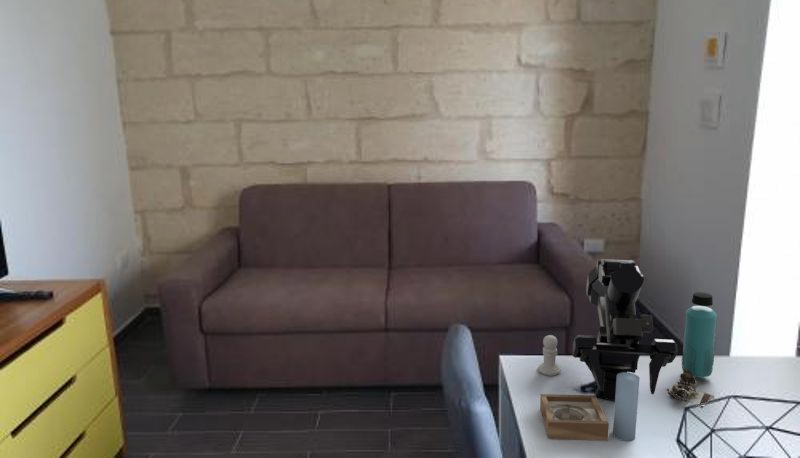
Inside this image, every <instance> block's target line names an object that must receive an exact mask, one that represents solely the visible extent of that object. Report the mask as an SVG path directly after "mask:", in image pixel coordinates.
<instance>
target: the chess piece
mask: <svg viewBox="0 0 800 458" xmlns="http://www.w3.org/2000/svg"><path fill="white" fill-rule="evenodd" d="M542 340H543V341H542V344H543V347H542V354H543V362H542V363H541V364H539V365H538V366H537V371H538V372H539V373H540V374H542V375H544V376H549V377H550V376H557V375H559V374H561V372H562V369H561V367H560V365H557V363H556V357H557V355H558V348H557V347H558V339H557V337H556V336H554V335H553V334H550V335H549V334H548V335H546V336H544V337H543V339H542Z"/></svg>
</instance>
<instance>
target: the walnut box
mask: <svg viewBox="0 0 800 458" xmlns="http://www.w3.org/2000/svg"><path fill="white" fill-rule="evenodd" d="M539 402H540V404H539V410H540V415H541V417H542V421H543V425H544V429H545V432H546V436H547V438H548V440H572V441H573V440H574V441H575V440H576V441H603V442H604V441H605V442H607V441H609V426H610V424H609V421H608V418H607V417H606V414H605V413H604V411H603V408H602V405H600V402H599V400H598V399H597V397H596V396H595V395H592V394H591V395H590V394H556V393H555V394H553V393H540V401H539Z"/></svg>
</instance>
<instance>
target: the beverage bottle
mask: <svg viewBox="0 0 800 458" xmlns="http://www.w3.org/2000/svg"><path fill="white" fill-rule="evenodd" d="M691 299H692V300H691V302H692V304H693V306H691V307H690V308H688V309H687V310H686V311H685V326H684V335H683V342H682V350H681V351H682V353H681V354H682V356H681V365H680V366H681V369H682V371H683V369H688V370H689V371H690V372H691V373H692V376H693V377H696V378H697V377H698V378H708V377H710V376H711V375H712V373H713V369H714V363H715V362H714V361H715V351H716V330H717V328H716V327H717V317H718V314H717V313H716V312H715V310H713V309H712V308H711V306H713V303H714V301H713V295H712V294H711V293H707V292H703V291H702V292H701V291H700V292H698V291H697V292H694V293H693V295H692V298H691Z"/></svg>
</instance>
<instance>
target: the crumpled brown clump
mask: <svg viewBox="0 0 800 458" xmlns="http://www.w3.org/2000/svg"><path fill="white" fill-rule="evenodd" d="M679 377H680V380H679V381H677V382H676V384H674V385H672V387H671V390H670V389H669V387H667V388H666V391H667V394H668V395H671V396H672V399H674V398H675V399H676V400H678V401H680V402H683V401H684V402H685V403H687V404H691V403H694V405H696V404H701V403H705V402H707V403H708V402H709V401H712V400H714V399H715V397H716V396H714V395H713V394H709V393H705V392H699V391H697V390H696V387H697V386H698V385H699V381H698V380H697V381H696V379H695V376H692V373H691V372H690V371H689V370H688V369H683V370H682V373H680V375H679ZM680 395H681V396H680ZM704 407H705V406H701V407H700V408H701V409H703V408H704Z"/></svg>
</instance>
